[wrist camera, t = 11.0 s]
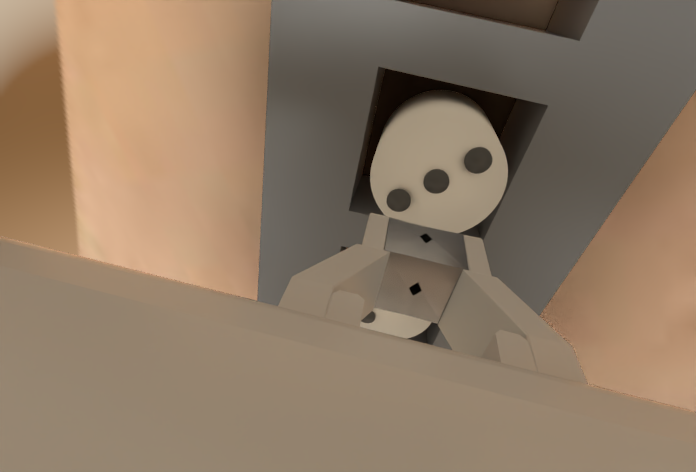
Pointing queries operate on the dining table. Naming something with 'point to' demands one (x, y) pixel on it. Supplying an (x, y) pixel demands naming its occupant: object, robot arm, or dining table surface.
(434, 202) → the button three
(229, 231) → the dining table surface
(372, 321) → the button two
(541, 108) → the button panel
